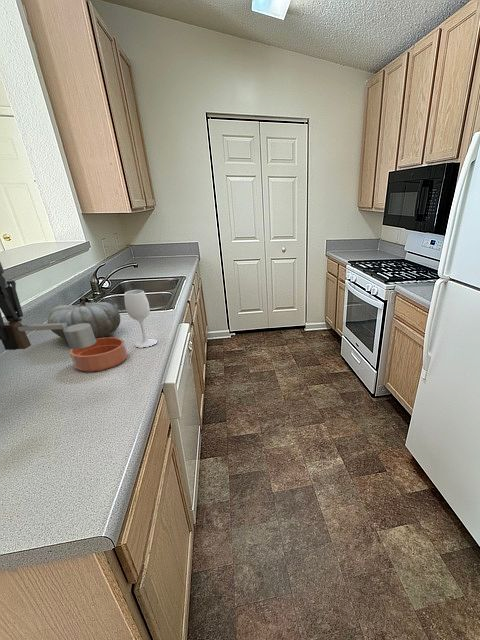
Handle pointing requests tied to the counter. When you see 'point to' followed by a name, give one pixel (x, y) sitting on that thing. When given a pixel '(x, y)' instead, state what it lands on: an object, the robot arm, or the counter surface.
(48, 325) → the ladle
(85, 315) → the gourd
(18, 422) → the counter surface
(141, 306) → the wineglass
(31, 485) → the counter surface
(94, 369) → the bowl
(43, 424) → the counter surface
